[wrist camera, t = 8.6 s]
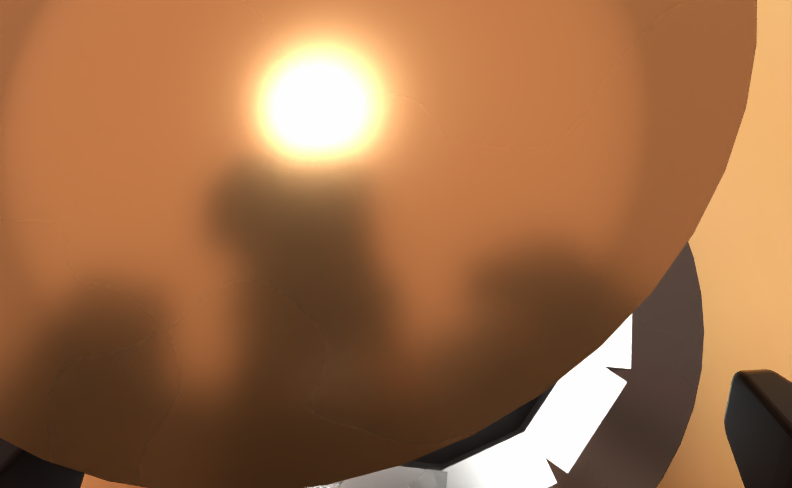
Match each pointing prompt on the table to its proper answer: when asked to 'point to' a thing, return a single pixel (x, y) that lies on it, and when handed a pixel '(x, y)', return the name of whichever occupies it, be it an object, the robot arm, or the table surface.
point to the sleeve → (335, 218)
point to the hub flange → (588, 411)
